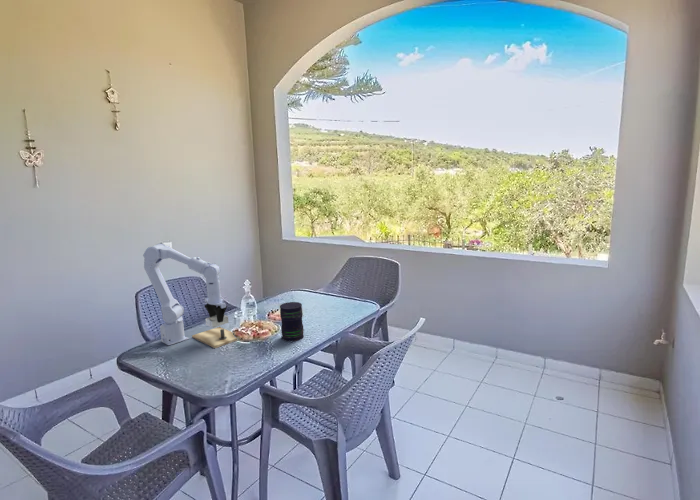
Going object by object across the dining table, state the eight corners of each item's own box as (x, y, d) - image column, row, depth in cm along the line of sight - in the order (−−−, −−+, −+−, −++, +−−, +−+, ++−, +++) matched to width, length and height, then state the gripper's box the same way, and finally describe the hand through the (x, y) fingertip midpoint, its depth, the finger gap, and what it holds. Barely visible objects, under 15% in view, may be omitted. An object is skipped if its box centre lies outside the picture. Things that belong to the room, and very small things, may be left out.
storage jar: (277, 338, 194) (274, 306, 191) (291, 331, 202) (289, 300, 199) (294, 343, 188) (292, 310, 185) (308, 335, 196) (306, 303, 193)
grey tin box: (212, 327, 191) (211, 321, 190) (206, 324, 195) (205, 318, 194) (228, 322, 197) (228, 316, 196) (221, 319, 200) (221, 313, 200)
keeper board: (214, 348, 186) (213, 337, 185) (192, 337, 199) (191, 327, 198) (242, 338, 196) (242, 327, 195) (219, 328, 209) (218, 318, 208)
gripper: (230, 291, 191) (233, 321, 193) (213, 286, 201) (216, 315, 203) (216, 295, 186) (219, 325, 188) (199, 290, 196) (202, 319, 198)
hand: (216, 320), depth 195 cm, fingers closed on grey tin box, 6 cm apart
